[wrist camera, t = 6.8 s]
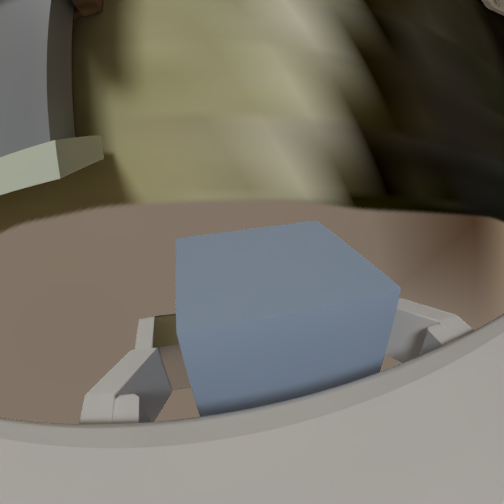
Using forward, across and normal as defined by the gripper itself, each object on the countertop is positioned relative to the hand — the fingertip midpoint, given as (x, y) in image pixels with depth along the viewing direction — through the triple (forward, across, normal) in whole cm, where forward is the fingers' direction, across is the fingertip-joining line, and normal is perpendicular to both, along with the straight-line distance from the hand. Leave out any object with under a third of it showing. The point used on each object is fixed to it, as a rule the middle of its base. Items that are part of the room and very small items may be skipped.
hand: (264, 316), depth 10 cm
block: (+2, 0, 0) cm, 2 cm away
